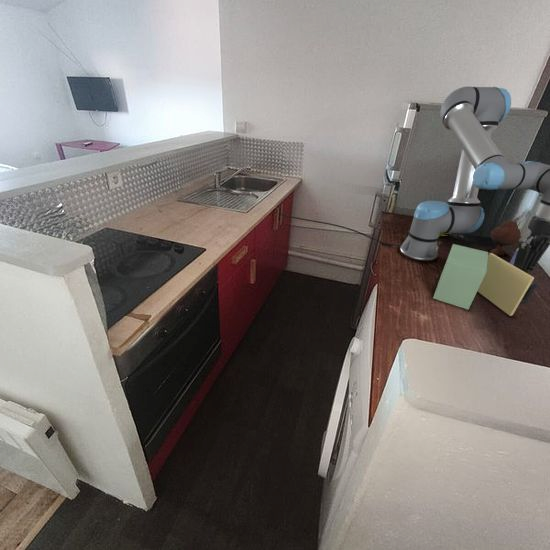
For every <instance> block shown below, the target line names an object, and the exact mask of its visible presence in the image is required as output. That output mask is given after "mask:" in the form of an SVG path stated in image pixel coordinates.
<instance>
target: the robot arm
mask: <svg viewBox="0 0 550 550" xmlns="http://www.w3.org/2000/svg"><path fill="white" fill-rule="evenodd" d="M511 108H512V97H511V93H510V92H509V91H508V89H506V88H503V87H498V86H462V87H459V88H456V89H454V90H453V91H452V92H450V93H449V94H448V96H446V98H445V99H444V101H442V105H441V107H440V110H439V111H440V113H439V115H440V116H439V117H440V120H441V123H442V125H443V126H444V128H446V130H450V131H451V133H452V134H453V135H454V138H455V139H456V141H457V142H458V144H459V145H460V147H461V154H460V157H459V163H458V166H457V167H458V168H457V173H456V178H455V182H454V186H453V187H454V188H453V193H452V196H451V197H450V198H448V199H447V202H446V201H442V200H427V201H426V200H425V201H422V202H420V203H419V204H418V205H417V206H416V209H415V211H414V213H413V219H412V221H411V225H410V228H409V232H408V235H407V237H406V238H405V240H404V241H403V242H402V244H397V243H390V242H385V241H382V240H379V239H377V238H374V237H373V236H370V235H367V234H365V233H363V232H362V231H358V230H356V229H353V228H350V227H346V226H342V225H339V224H334V223H330V222H324V221H318V220H313V219H308V218H301V217H297V216H292V215H287V214H284V213H280V214H279V215H280V216H283V217H287V218H291V219H296V220H301V221H306V222H313V223H319V224H322V225H323V224H324V225H330V226H333V227H338V228H342V229H345V230H348V231H351V232H354V233H357V234H359V235H361V236H364V237H366V238H369V239H371V240H373V241H375V242H377V243H380V244H384V245H387V246H395V247H399V253H400V254H401V256H403V257H404V258H406V259H408V260H411V261H414V262H420V263H431V262H434V261H436V260H437V257H438V250H439V246H438V240H439V237H440V236H439V235H440V234H450V235H452V234H458V235H464V234H471V233H474V232H476V231H477V230H478V229H480V227H481V226H482V224H483V222H484V219H485V212H484V208H483V207H482V206H481V201H480V200H479V198H478V194H479V190H488V191H489V190H490V191H493V190H530V191H533V192H537V193H540V194H543V195H542V197H541V198H540V201H539V203H538V204H537V207H536V209H535V211H534V213H533V215H534V216H532V217H531V219H530V221H529V223H528V225H527V228H528V230H530V233H529V234H528V235H527V237H526V240H525V241H522V240H521V241H519V243H518V248H519V249H518V248H517V249H518V252H517V255H516V258H515V261H514V264H513V266H515V267H517V268H519V269H520V270H522V271H524V272H525V273H527V274H528V272H529V271H531V272H532V271H533V270H534V267H536V266H537V264H538V262H539V261H540V260H541V258H543V256H544V254H546V253H545V252H546V251H547V250H548V248H549V247H550V164H546V163H543V162H541V161H531V160H527V161H524V162H522V163H521V162H519V163H518V162H517V163H516V162H515V163H514V162H508V160H507V159H506V158H505V156H504V155H503V154H502V152H501V151H500V149H499V147H498V146H497V145H496V143H495V142H494V141H493V139H492V134H493V132H494V131H495V130H496V129H497V128H498V127H499V124H500V123H501V122H502V121H504V120H505V119H506V118H507V116H508V114H509V113H510V110H511ZM451 233H452V234H451Z"/></svg>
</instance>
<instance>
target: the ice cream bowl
mask: <svg viewBox="0 0 550 550" xmlns="http://www.w3.org/2000/svg"><path fill="white" fill-rule="evenodd" d="M490 237H491V239H492V241H493V242H494V243H495V244H496V245H497V247H496V248H492V249H491V250H489V253H493V254H494V255H496V256H505V252H504V251H503V250H502V249H503V247H507V246H512V245H515V244H516V243H517V242H519V240H520V239H522V236H521V229H520V228H519V226H518V223H517V222H516V221H514V220H506V221H504V222H503V223H501V224H500V225H498V226H497V227H495V228H493V229H492V230H491V231H490Z"/></svg>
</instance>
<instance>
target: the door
mask: <svg viewBox="0 0 550 550" xmlns="http://www.w3.org/2000/svg"><path fill="white" fill-rule="evenodd" d="M534 279H535V276H532V275H530V274H529V273H528V272H527V273H525V272H524V271H522V270H520V269H519V268H517V267H515V266H513V265H512V264H510V262H508V261H507V260H504V259H503V258H501V257H499V255H495V254H493V253H491V252H488V261H487V272H486V274H485V276H484V278H483V280H482V282H481V284H480V286H479V289H478V291H477V293H479V294H480V295H482V296H483V297H484V298H485V299H487V300H489V302H491V304H493V305H495V306H496V307H497V308H499V309H500V310H501V311H502V312H504V313H505V314H507V315H508V316H510V317H511V316H514V313H515V312H516V310H517V308H518V307H519V305H526V304H527V303H528V301H529V299H530V297H531V296H532V294H533V292H534V291H535V289H536V287H537V286H538V285H539V281H536V280H534Z"/></svg>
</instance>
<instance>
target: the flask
mask: <svg viewBox="0 0 550 550" xmlns="http://www.w3.org/2000/svg"><path fill="white" fill-rule="evenodd" d="M518 249H519V247H518V248H516V249H515V252H514V253H513V255H512V257H511V259H510V261H509V263H510V264H512V265H513V264H514V261H515V258H516V255H517V252H518Z"/></svg>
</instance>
